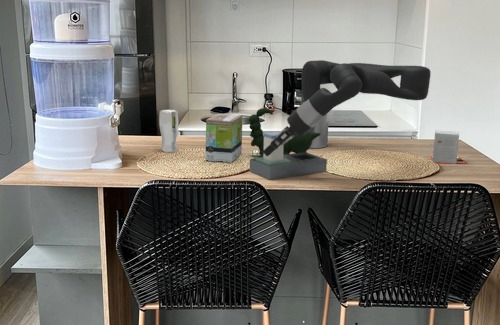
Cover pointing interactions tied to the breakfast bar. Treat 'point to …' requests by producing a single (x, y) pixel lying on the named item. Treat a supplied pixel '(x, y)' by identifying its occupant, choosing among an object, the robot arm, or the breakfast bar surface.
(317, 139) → the robot arm
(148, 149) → the breakfast bar surface
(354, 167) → the breakfast bar surface
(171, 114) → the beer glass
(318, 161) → the panel
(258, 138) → the toy figurine
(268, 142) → the plug
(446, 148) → the small box
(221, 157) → the tea box
